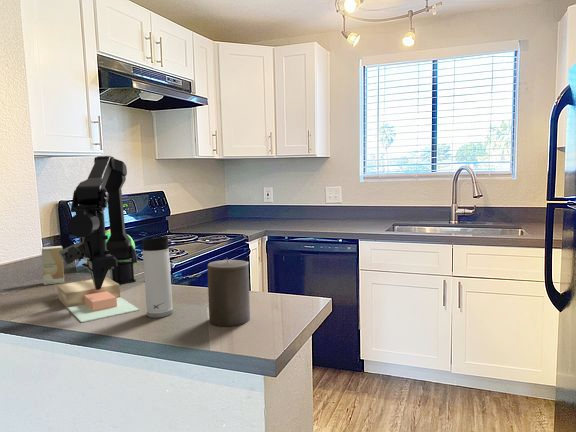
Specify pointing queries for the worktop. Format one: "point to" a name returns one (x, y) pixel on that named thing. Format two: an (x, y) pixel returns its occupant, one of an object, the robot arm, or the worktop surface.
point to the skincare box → (52, 265)
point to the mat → (101, 311)
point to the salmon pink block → (100, 301)
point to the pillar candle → (228, 292)
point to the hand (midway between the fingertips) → (98, 289)
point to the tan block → (84, 291)
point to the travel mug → (157, 277)
